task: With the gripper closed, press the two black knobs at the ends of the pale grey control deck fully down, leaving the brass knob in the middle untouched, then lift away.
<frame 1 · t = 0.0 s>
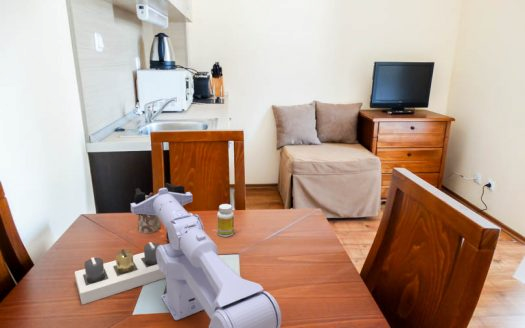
hand: (152, 189, 91), 22 cm above the table, fingers open, 7 cm apart
supplement bottle: (225, 233, 114), on the table
figurine: (149, 229, 116), on the table
tape measure: (180, 240, 110), on the table
control deck: (126, 278, 90), on the table
brass knob middle: (124, 261, 89), point 5 cm above the table, slide at 0.0 cm
black knob 2: (152, 253, 92), point 5 cm above the table, slide at 0.0 cm
black knob 1: (94, 269, 85), point 5 cm above the table, slide at 0.0 cm
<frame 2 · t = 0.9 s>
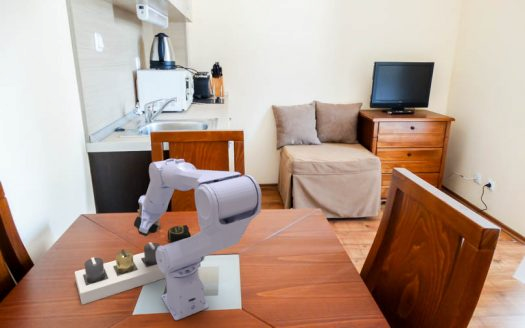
hand: (148, 221, 93), 13 cm above the table, fingers open, 7 cm apart
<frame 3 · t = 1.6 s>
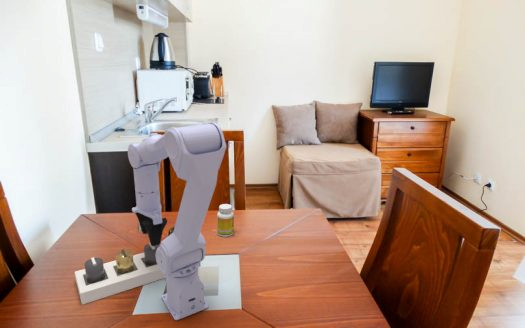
hand: (151, 238, 91), 9 cm above the table, fingers open, 7 cm apart
nothing on the table moved.
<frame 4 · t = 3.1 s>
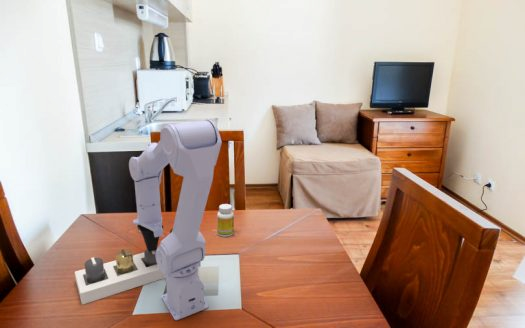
hand: (152, 249, 92), 6 cm above the table, fingers closed, pressing on black knob 2
black knob 2: (152, 257, 93), point 4 cm above the table, slide at 1.4 cm, touching gripper
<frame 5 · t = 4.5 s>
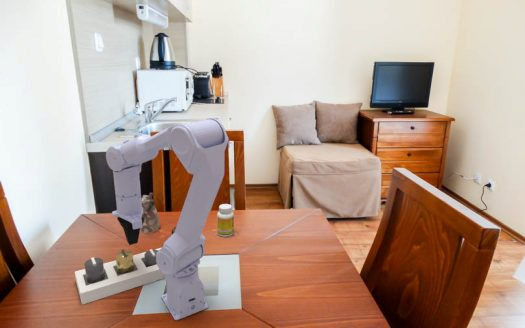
hand: (132, 242, 89), 9 cm above the table, fingers closed
black knob 2: (152, 260, 93), point 3 cm above the table, slide at 2.1 cm
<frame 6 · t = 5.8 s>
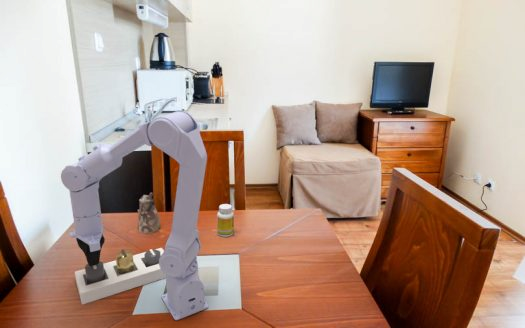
hand: (93, 264, 84), 7 cm above the table, fingers closed, pressing on black knob 1
black knob 1: (95, 272, 85), point 4 cm above the table, slide at 0.9 cm, touching gripper
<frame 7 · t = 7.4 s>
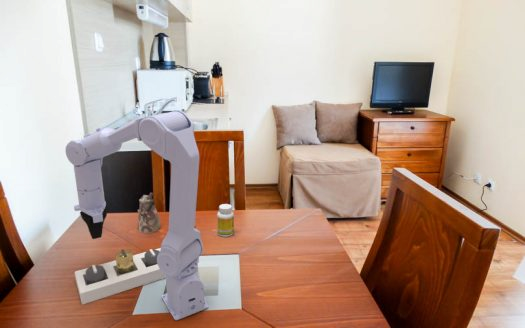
hand: (96, 237, 89), 10 cm above the table, fingers closed
black knob 1: (95, 277, 85), point 3 cm above the table, slide at 2.1 cm
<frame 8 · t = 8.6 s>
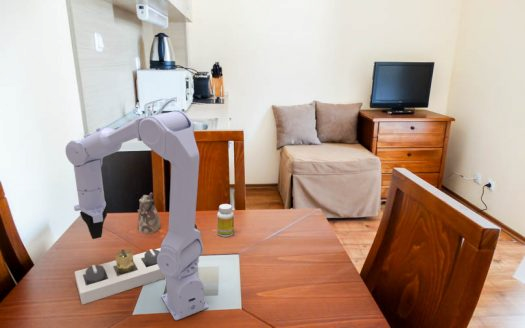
hand: (96, 237, 89), 10 cm above the table, fingers closed
at the end: black knob 2 slide at 2.1 cm; black knob 1 slide at 2.1 cm; brass knob middle slide at 0.0 cm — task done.
